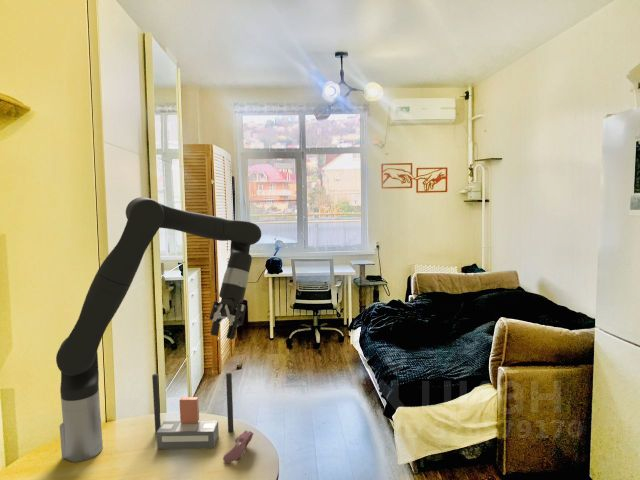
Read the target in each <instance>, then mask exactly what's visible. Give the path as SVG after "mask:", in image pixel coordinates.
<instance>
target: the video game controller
mask: <svg viewBox="0 0 640 480" xmlns="http://www.w3.org/2000/svg"><path fill="white" fill-rule="evenodd" d="M254 434H255V433H254V432H252V431H250V430H247V429H246V430H244V431H243V432H242V433H241V434H240V435H238V436H237V438H235V441H234V443H235V444H234V446H233V447H232V449H231V450H229V451H227V452H226V453H225V454H224V456H222V457H223V462H224V463H227V464H230V463H233V462H234V461H236V460H237V459H241V456H242V455H245V454H246V451H247V449H248V445H249V443H250V442H251V441H252V439H253V437H254Z"/></svg>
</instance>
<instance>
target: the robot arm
mask: <svg viewBox="0 0 640 480" xmlns="http://www.w3.org/2000/svg"><path fill="white" fill-rule="evenodd" d="M125 216H126V219H127V220H126V224H125V226H124V230H123V231H122V234H121V236H120V238H119V239H118V242H117V243H116V244H115V246H114V247H113V249H112V250H111V251H110V252H109V254H108V255H107V256H106V257H105V259H104V260H103V262H102V263H101V264H100V266H99V268H98V270H97V271H96V273H95V275H94V278H93V280H92V282H91V283H90V286H89V289H88V290H87V292H86V295H85V298H84V301H83V304H82V307H81V310H80V313H79V316H78V319H77V320H76V323H75V325H74V326H73V328H72V329H71V332H70V333H69V335H68V337H66V338H65V339H64V340H63V341H62V343H61V345H60V346H59V348H58V350H57V353H56V357H55V361H56V366H57V368H58V370H59V371H60V390H59V391H60V404H61V417H62V422H61V423H60V425H59V437H60V449H61V458H62V460H63V459H64V460H67V461H69V462H74V463H76V462H83V461H87V460H90V459H93V458H95V457H96V456H97V455H99V454H100V453H101V452H102V450H103V448H104V447H103V435H102V434H103V430H102V417H101V416H102V415H101V400H100V390H99V389H100V387H99V386H100V385H99V376H100V372H99V355H98V353H99V352H98V351H99V347H100V344H101V342H102V339H103V336H104V334H105V331H107V328H108V326H109V324H110V323H111V321H113V320H112V319H113V318H114V316H115V315H116V313H117V311H118V309H119V308H120V306H121V304H122V302H123V301H124V300H125V297H126V296H127V293H128V291H129V289H130V287H131V286H132V283H133V281H134V279H135V276H136V274H137V272H138V269H139V267H140V264H141V262H142V260H143V256H144V254H145V252H146V250H147V249H148V247H149V245H150V244H151V242H152V240H153V238H154V237H155V235H156V234H157V232H158V231H159V229H168V230H173V231H178V232H182V233H186V234H189V235H192V236H196V237H200V238H204V239H210V240H214V241H219V242H220V241H222V242H224V241H230V253H229V259H228V263H227V267H226V270H225V272H224V275H223V279H222V283H221V286H220V291H219V295H218V296H219V298H220V299H221V300H220V301H218V300H214V302H213V304H212V307H211V310H210V315H209V318H208V319H209V320H210V321H211V322H212V325H211V330H210V335H211V336H218V335H219V331H220V327H221V323H222V321H223V320H224V319H226V318H227V319H228V320H229V325H228V329H227V333H226V339H229V340H234V339H235V337H236V332H237V328H238V327H239V326H242V325H243V324H244V320H245V316H246V315H245V314H246V310H247V305H245V304H242V303H243V301H244V298H245V296H246V295H245V293H246V292H247V291H246V290H247V286H248V281H249V274H250V269H251V266H252V260H253V258H252V255H251V254H250V248H251V246H253V245H255V244H256V243H259V242H260V240H261V238H262V230H261V228H260V226H259V225H257V224H256V223H254V222H251V221H246V220H235V219H226V218H223V217H219V216H214V215H209V214H203V213H199V212H192V211H188V210H187V211H186V210H181V209H177V208H173V207H170V206H167V205H164V204H161V203H160V202H159V201H157V200H155V199H152V198H150V197H146V196H145V197H144V196H141V197H137V198H134V199H132V200H131V201H130V202H128V204H127V205H126V208H125Z"/></svg>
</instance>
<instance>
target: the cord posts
mask: <svg viewBox="0 0 640 480" xmlns="http://www.w3.org/2000/svg"><path fill="white" fill-rule="evenodd" d="M151 377H152V380H151V381H152V393H153V394H152V396H153V414H154V429H155V430H154V431H155V432H154V433H155V434H156V432H157V431H158V429H159V428H160V426H161V425H162V424H161V423H162V422H161V408H160V407H161V406H160V390H159V389H160V386H159V374H158V373H154V374H152V375H151ZM225 379H226V380H225V381H226V384H225V385H226V404H227V407H226V409H227V431H228V433H233V432H234V429H235V428H234V410H233V409H234V407H233V402H234V401H233V380H232V379H233V376H232V372H227V373H226V375H225Z"/></svg>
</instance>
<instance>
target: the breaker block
mask: <svg viewBox="0 0 640 480" xmlns="http://www.w3.org/2000/svg"><path fill="white" fill-rule="evenodd" d="M161 423H162V424H161V426H160V428H159V429H158V431H157V432H156V433H155V434H156V446H157V447H156V449H157V450H169V449H170V450H174V449H175V450H184V449H187V450H189V449H195V450H196V449H215V447H216V444H217V441H218V440H219V437H220V435H219V420H199V421H198V423H181V422H180V420H172V421H171V420H167V421H165V420H164V421H162V422H161ZM217 439H218V440H217Z"/></svg>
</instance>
